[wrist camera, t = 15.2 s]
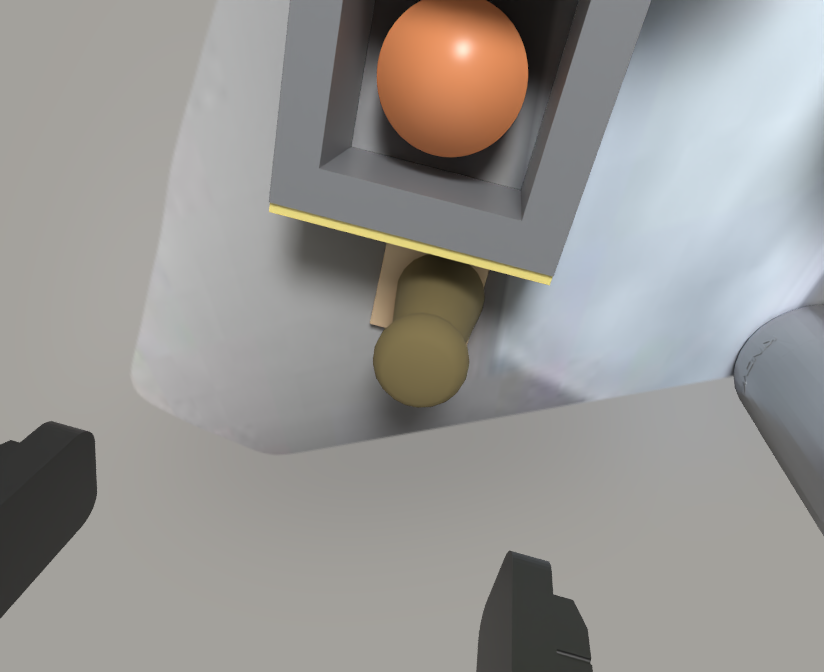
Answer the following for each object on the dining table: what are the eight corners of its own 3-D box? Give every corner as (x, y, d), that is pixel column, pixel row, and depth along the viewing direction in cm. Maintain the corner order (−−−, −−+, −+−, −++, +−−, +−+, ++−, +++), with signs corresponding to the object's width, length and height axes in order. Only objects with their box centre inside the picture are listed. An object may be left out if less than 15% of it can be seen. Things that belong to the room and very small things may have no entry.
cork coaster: (493, 254, 40) (492, 257, 39) (466, 345, 43) (465, 349, 42) (390, 228, 40) (389, 230, 39) (371, 320, 43) (369, 323, 43)
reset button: (546, 15, 32) (548, 13, 30) (504, 162, 36) (503, 172, 34) (402, -20, 33) (392, -25, 30) (375, 130, 36) (364, 137, 34)
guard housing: (645, -52, 31) (677, -73, 25) (544, 246, 39) (549, 286, 33) (347, -123, 32) (306, -161, 26) (306, 184, 39) (267, 212, 33)
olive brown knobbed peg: (482, 337, 42) (472, 429, 32) (397, 332, 43) (361, 420, 33) (486, 254, 39) (477, 327, 29) (395, 250, 40) (356, 320, 30)
